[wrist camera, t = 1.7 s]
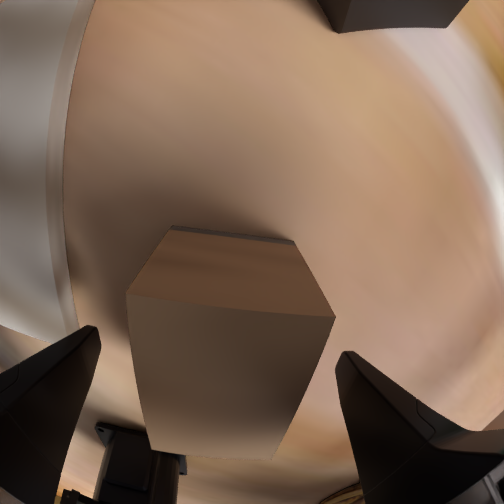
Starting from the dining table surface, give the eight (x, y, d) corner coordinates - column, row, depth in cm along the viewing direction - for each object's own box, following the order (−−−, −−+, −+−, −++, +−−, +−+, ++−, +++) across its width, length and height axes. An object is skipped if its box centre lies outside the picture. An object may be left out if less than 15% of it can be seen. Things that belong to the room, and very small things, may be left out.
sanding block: (260, 373, 13) (271, 459, 8) (170, 363, 12) (151, 449, 8) (293, 240, 10) (335, 316, 6) (172, 224, 10) (125, 293, 5)
